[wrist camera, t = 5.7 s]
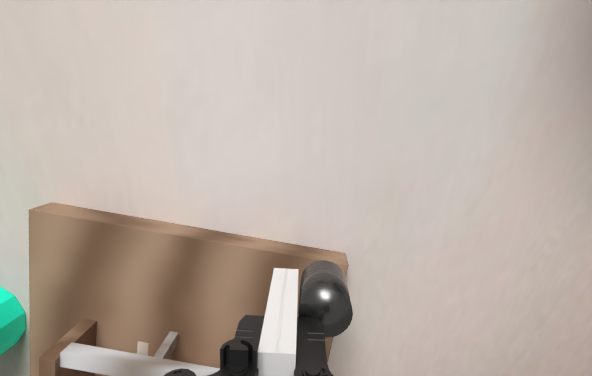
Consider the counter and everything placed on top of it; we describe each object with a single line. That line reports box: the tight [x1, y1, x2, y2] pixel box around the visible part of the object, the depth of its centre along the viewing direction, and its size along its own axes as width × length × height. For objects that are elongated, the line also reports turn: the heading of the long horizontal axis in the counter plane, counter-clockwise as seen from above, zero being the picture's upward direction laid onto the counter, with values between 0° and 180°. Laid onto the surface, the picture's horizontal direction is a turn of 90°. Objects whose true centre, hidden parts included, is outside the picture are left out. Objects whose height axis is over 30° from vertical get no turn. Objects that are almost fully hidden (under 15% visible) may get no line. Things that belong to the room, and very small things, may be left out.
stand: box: [29, 203, 348, 376], centre depth 23 cm, size 22×15×6 cm
